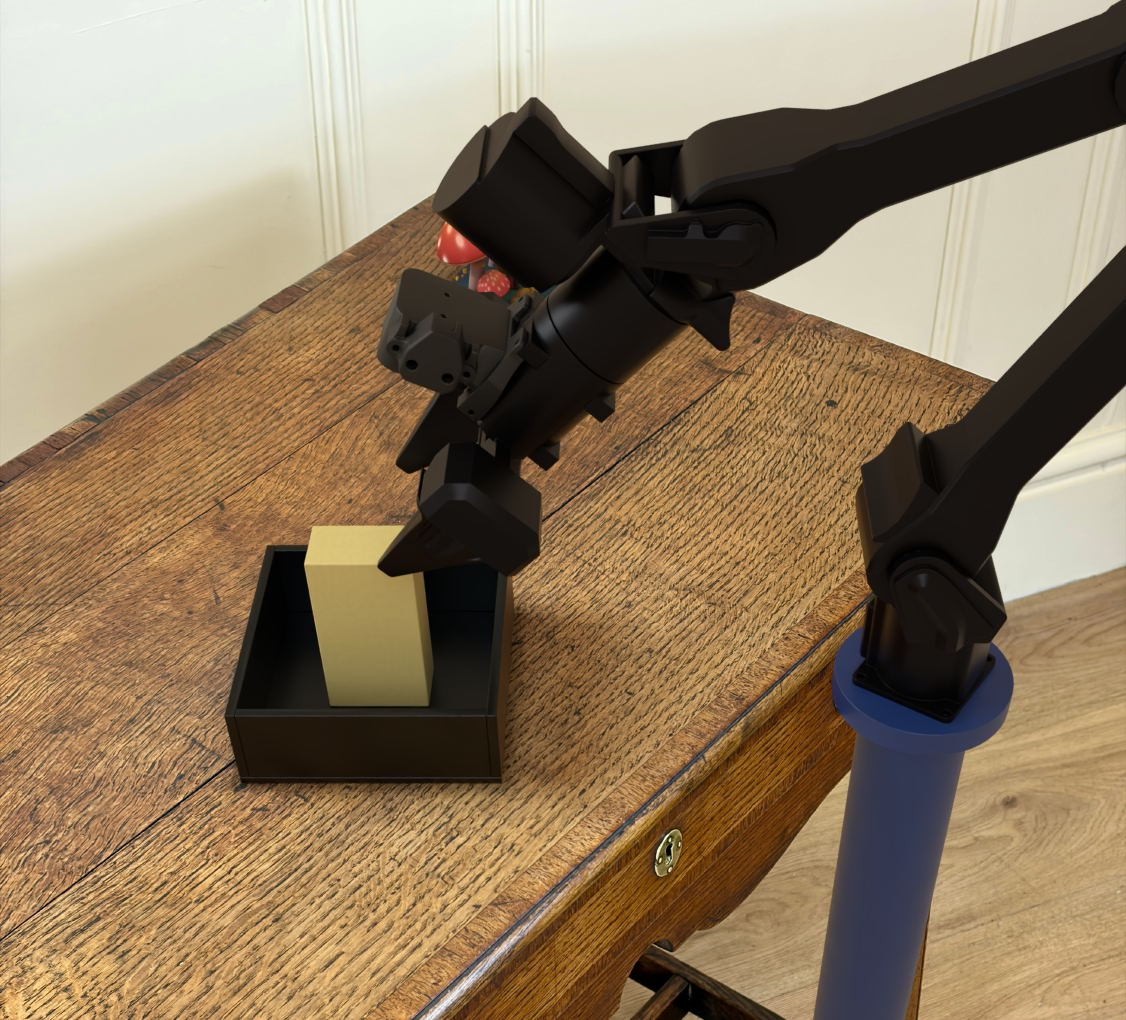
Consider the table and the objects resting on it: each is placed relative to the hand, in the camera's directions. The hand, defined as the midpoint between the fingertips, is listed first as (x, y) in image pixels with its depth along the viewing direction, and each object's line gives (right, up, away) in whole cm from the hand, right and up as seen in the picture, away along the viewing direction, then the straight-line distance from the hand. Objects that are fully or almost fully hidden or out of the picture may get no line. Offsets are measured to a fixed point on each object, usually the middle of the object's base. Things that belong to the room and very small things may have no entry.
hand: (393, 517), depth 87 cm
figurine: (+5, +25, +43) cm, 50 cm away
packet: (-2, -9, +9) cm, 13 cm away
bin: (-2, -9, +10) cm, 13 cm away
